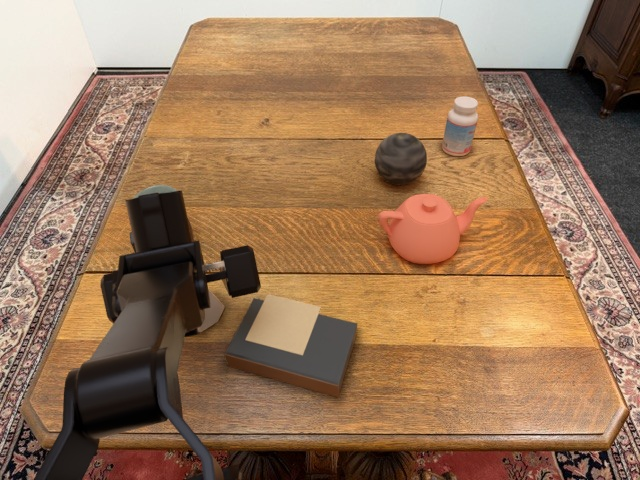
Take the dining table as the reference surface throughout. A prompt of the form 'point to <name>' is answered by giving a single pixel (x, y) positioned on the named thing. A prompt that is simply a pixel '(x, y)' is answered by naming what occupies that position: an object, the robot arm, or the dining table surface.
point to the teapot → (427, 228)
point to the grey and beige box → (293, 344)
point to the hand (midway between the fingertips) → (189, 278)
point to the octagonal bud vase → (212, 312)
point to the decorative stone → (400, 158)
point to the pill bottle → (460, 126)
